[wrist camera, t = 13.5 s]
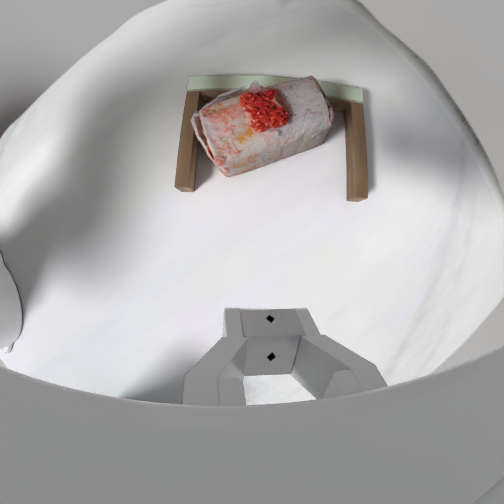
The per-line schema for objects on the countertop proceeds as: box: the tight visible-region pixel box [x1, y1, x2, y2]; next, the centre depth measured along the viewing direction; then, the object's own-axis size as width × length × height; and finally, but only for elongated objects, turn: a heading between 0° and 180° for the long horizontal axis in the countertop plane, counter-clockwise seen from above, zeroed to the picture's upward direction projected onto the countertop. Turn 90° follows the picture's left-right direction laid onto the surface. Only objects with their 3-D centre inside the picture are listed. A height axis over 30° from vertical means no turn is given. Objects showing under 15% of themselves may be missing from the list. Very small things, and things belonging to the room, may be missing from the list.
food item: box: [191, 76, 334, 177], centre depth 26 cm, size 14×8×10 cm, turn 113°
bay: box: [175, 75, 368, 202], centre depth 29 cm, size 21×14×4 cm, turn 87°
